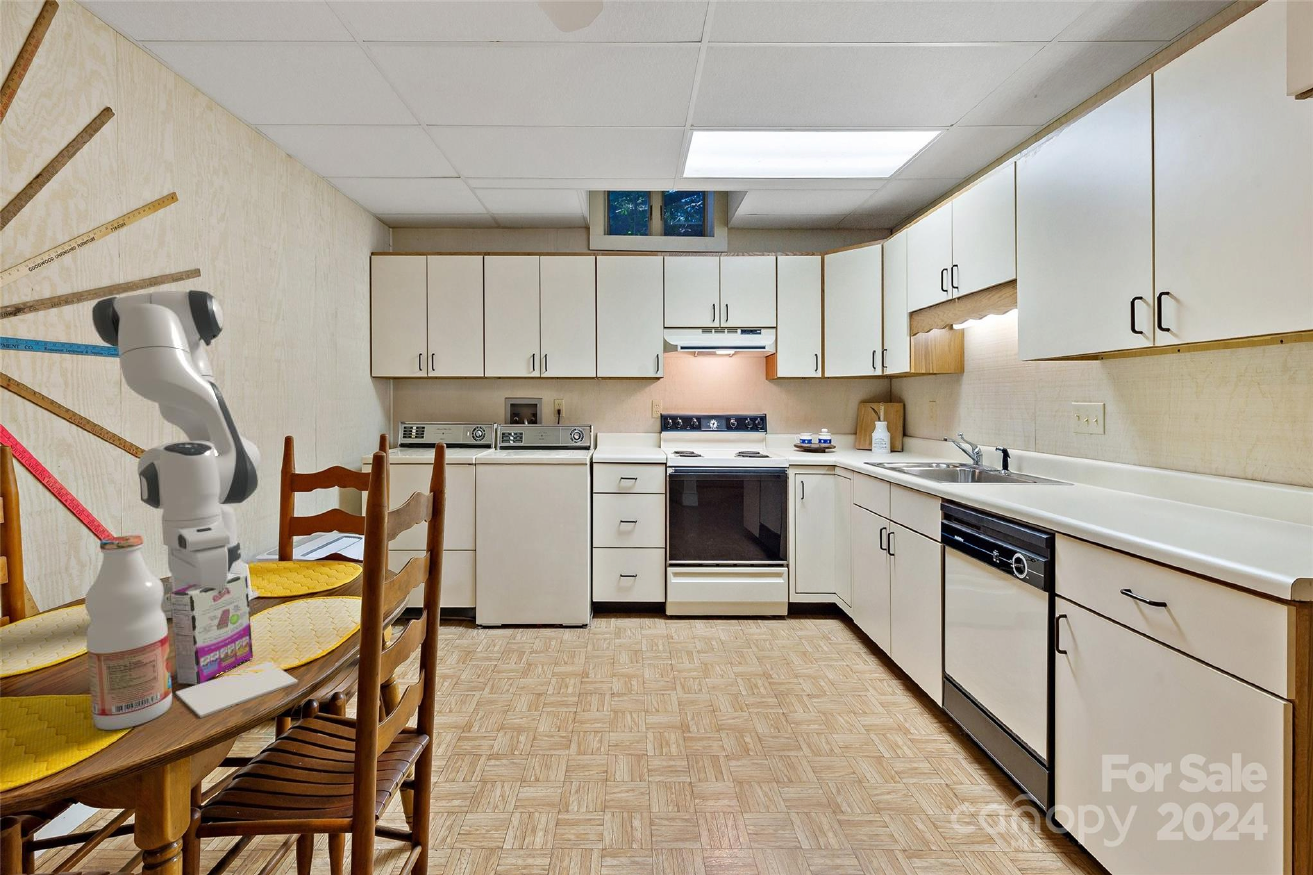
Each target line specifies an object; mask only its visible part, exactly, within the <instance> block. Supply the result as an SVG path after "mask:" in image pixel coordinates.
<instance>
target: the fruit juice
mask: <svg viewBox="0 0 1313 875" xmlns="http://www.w3.org/2000/svg"><path fill="white" fill-rule="evenodd" d="M143 547H144V539H143V537H142V535H137V534H136V535H135V534H131V535H129V534H128V535H120V536H119V535H118V536H113V537H109V538H105V539H102V540H101V541H100V542H99V549H100V553H101V554H103V559H102V563H101V565H100V569H99V571H98V575H97V577H96V579H95V580H94V582H93V583H92V585H90V587H89V589H88V590H87V592H86V594H85V597H84V607H85V610H86V613H87V614H88V616H89V618H90V624H89V626H88V628H87V631H86V651H87V664H88V674H89V675H88V676H89V687H90V700H91V701H90V702H91V712H92V713H91V715H92V721H93V724H94V726H95V727H96V728H97V729H99V730H103V731H104V730H105V731H115V730H123V729H128V728H132V727H136V726H139V725H142V724H145V723H147V722H150V721H153V720H154V719H157V718H158V717H160V716H162V715H163V714H165V713H166V712H167V711H168V710H169V709H170V708H171V706H172V703H173V702H172V701H173V692H172V691H173V689H172V674H171V660H170V644H169V629H168V627H169V626H168V623H167V622H168V621H167V618H166V616H165V614H164V613H163V611H162V609H161V603H162V599H163V596H165V595H164V594H165V593H164V589H163V584H162V583H163V582H162V580H161V579H160V578H159V577H158V576H157V575H156V574H155V573H153V572H152V571H151V569H150V568H149V567H148V565H147V563H146V561H145V558H144V556H143V554H142V548H143Z"/></svg>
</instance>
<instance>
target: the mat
mask: <svg viewBox="0 0 1313 875" xmlns="http://www.w3.org/2000/svg"><path fill="white" fill-rule="evenodd" d="M276 667H278V666H277V665H275V664H274V663H272V662H271V661H267V662H264V663H261V664H257V665H255V666H251V667H248V668H245V669H241V670H239V671H238V672H243V670H257V669H259V670H260V669H262V670H263V669H264V670H266V671H262V672H261V671H259V672H258V671H257V672H258V673H254V672H250V671H244V672H248V673H235V672H232V673H231V674H241V675H229V674H226V675H224V676H221V677H216V678H214V679H212V680H210V681H208V682H204V683H201V684H198V685H191V686H190V687H186V688H183V689H180V690H177V691H175V695H176V696H177V697H178V698H179V699H181V700H182V702H184V703H185V704H186V705H187V706H188V707H189V708H190V710H192V711H193V712H194V713H195V714H196V715H197V716H198V717H199V718H201V719H202V718H204V717H206V716H209V715H212V714H215V713H217V712H221V711H224V710H226V709H229V708H231V706H232V707H235V706H237V705H236V704H238V705H239V704H240V705H241V704H242V703H246V702H248V701H251V700H255V699H256V698H260V697H261V696H265V695H267V694H268V695H269V694H271V693H274V692H276V691H279V690H281V689H284V688H287V687H290V686H292V685H296V684H298V683H299V680H298V679H296V678H294V677H293V676H291V675H290V674H289V673H287V672H286V671H284V670H283V669H281V668H280V667H278V668H276ZM271 669H273V670H271ZM274 669H275V670H274ZM227 675H229V676H227Z"/></svg>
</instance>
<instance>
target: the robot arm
mask: <svg viewBox="0 0 1313 875" xmlns="http://www.w3.org/2000/svg"><path fill="white" fill-rule="evenodd" d="M91 313H92V315H91V322H92V326H93V328H94V330H95V332H96V333H97V334H98V336H99V338H100V340H102V341H103V342H104V343H105V344H107V345H110V347H111V346H112V347H114V348H118V356H119V363H120V367H121V368H120V369H121V372H122V375H123V379H124V381H125V384H126V385H127V386H128V387H129V389H131V391H133V393H136V394H137V395H138V396H140V397H142V398H143V399H145V400H148V401H150V402H153V403H156V404H157V405H158V408H159V412H160V415H161V417H162V418H163V420H165V421H166V422H167V423H169V424H172V425H174V426H176V427H177V428H178V429H180V430H181V431H182V432H183V433H184V434H185V435H186V437H187V438H188V440H186V441H175V442H168V443H165V444H162V445H157V446H154V447H151V448H148V449H146V451H144V452H143V453H142V454H141V456H140V458H139V460H138V462H137V463H138V464H137V475H138V478H139V484H140V500H141V501H142V503H144V504H146V505H148V507H149V506H150V507H152V508H154V509H157V510H158V509H159V510H162V516H161V527H162V540H163V541H162V542H163V546H166V547H167V566H168V571H169V572H170V574H171V575H170V576H169V579H168V582H162V584H163V589H164V594H166V595H163V599H162V603H161V609H162V611H163V613H164V614H165V616H166V619H172V612H171V601H170V593H171V592H174V591H177V590H179V589H182V588H185V587H188V586H191V585H194V584H196V585H198V586H200V587H201V588H215V589H222V588H224V587H225V586H226V584H227V580H228V573H232V574H233V573H237V574H247V584H248V597H249V602H250V601H251V600H253V599H255V598H258V596H259V591H257V590H253V589H252V584H251V576H250V570H249V565H248V563H245V562H244V561H242V559H241V557H242V554H241V552H242V548H241V543H240V542H239V541H238V528H237V526H238V525H237V514H236V511H235V510H234V508H233V507H231V506H229V505H230V504H241V503H243V502H244V501H247V499H248V498H250V497H252V495H253V494H254V492H255V491H256V490H257V488H258V485H259V483H258V482H259V480H258V473H257V472H258V470H259V468H260V465H261V460H262V459H261V454H260V450H259V448H258V447H257V445H256V444H254V442H252V441H251V440H249V439H247V438H245V437H244V436H243V435H241V434H240V432H238V430H237V428H236V425H235V422H234V420H233V418H232V416H231V413H230V411H229V407H228V406H227V404H226V401H225V399H224V397H223V394H222V393H221V391H220V389H219V388H218V386H217V384H216V381H215V377H214V372H213V369H212V366H211V363H210V360H209V358H208V354H207V353H206V350H205V347H204V346H203V344H202V342H201V341H203V342H204V344H205V346H206V347H209V346H211V344H212V341H213V340H214V339H217V338H218V336H219V335H220V334H221V332H222V331H223V326H224V321H225V320H224V312H223V309H222V307H221V305H220V303H218V301H217V300H216V298H215V297H214V296H213V295H212V293H209V292H208V291H202V290H194V289H193V290H192V289H190V290H189V291H182V290H181V291H179V290H177V291H175V290H174V291H172V290H171V291H167V290H166V291H165V290H164V291H163V290H161V291H152V292H147V293H140V294H139V293H138V294H132V295H125V296H120V297H117V296H111V297H107V298H104V299H100V300H98V301H97V302H96V303H95V304H94V306H93V307H92V310H91ZM167 593H168V594H167Z"/></svg>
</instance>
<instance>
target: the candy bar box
mask: <svg viewBox="0 0 1313 875" xmlns="http://www.w3.org/2000/svg"><path fill="white" fill-rule="evenodd" d="M169 594H170V601H171V612H172V618H171V620H172V621H171V622H172V632H173V646H174V647H173V648H174V654H175V657H174V659H175V667H176V668H175V669H176V679H177V684H180V685H186V686H187V685H188V686H195V685H198V684H201V683H204V682H208V681H211V680H214V679H215V678H214V677H215V676H216V675H217V674H220V673H221V672H225V671H226V670H229V669H231V668H233V667H235V666H236V665H239V664H240V663H242V664H244V663H245V662H244V661H246V662H248V661H250V660H251V659H250V658H252V659H253V658H254V654H253V653H254V651H253V643H252V642H253V640H252V638H253V637H252V628H251V616H250V601H249V597H248V584H247V574H237V573H233V574H232V573H228V580H227V584H226V586H225V587H224V588H222V589H215V588H201V587H200V586H198V585H196V584H194V585H191V586H188V587H185V588H182V589H179V590H177V591H174V592H171V593H170V592H169ZM249 659H250V660H249ZM247 660H248V661H247ZM243 662H244V663H243ZM239 666H240V665H239ZM235 668H236V667H235ZM233 669H234V668H233ZM231 670H232V669H231ZM229 671H230V670H229ZM225 673H226V672H225ZM213 678H214V679H213Z"/></svg>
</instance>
